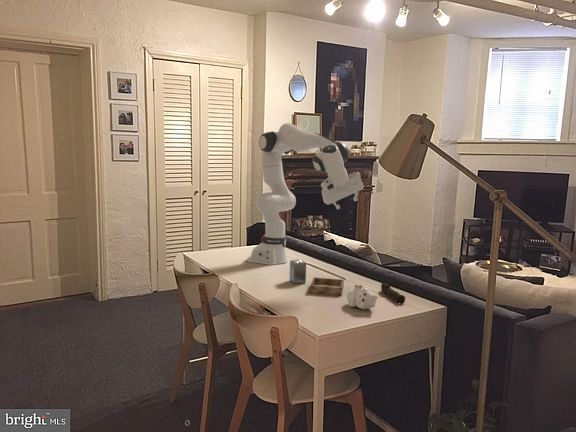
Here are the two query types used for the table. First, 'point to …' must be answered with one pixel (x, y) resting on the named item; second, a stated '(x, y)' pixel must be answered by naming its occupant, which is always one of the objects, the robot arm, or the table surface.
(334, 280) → the walnut tray
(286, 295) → the table surface
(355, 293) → the cat figurine
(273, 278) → the table surface
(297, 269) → the gravel tin
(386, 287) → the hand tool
